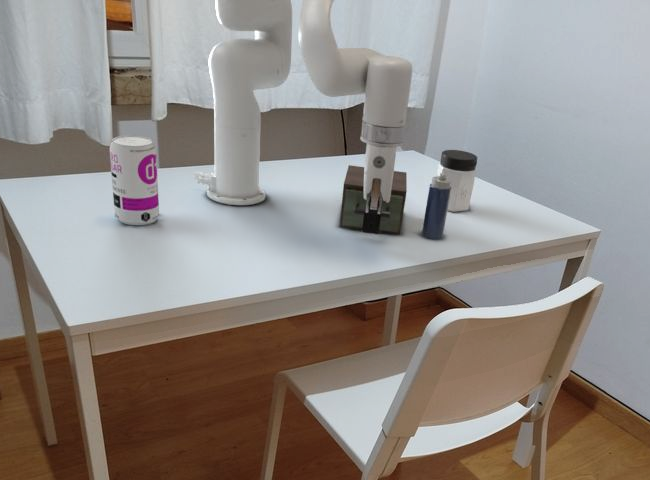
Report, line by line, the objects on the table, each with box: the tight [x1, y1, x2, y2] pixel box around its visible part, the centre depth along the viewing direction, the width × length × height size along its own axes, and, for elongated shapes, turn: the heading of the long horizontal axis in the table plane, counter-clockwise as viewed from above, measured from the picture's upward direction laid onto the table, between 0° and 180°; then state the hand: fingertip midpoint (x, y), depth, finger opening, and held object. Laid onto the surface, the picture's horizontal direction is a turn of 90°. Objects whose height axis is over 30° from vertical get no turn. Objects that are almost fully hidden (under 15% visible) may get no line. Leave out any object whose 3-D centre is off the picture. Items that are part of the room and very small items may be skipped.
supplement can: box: [109, 135, 160, 226], centre depth 126 cm, size 8×8×15 cm
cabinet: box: [338, 164, 408, 235], centre depth 141 cm, size 14×13×9 cm
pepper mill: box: [421, 173, 452, 240], centre depth 136 cm, size 4×4×13 cm
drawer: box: [342, 188, 403, 232], centre depth 138 cm, size 17×11×7 cm
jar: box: [436, 149, 478, 213], centre depth 154 cm, size 9×8×12 cm
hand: (370, 231), depth 127 cm, fingers closed
